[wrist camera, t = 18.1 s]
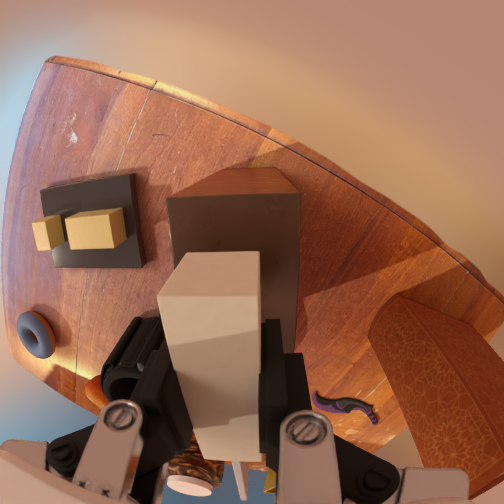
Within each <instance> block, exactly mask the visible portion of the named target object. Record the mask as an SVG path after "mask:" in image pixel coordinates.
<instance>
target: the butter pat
mask: <svg viewBox="0 0 504 504" xmlns="http://www.w3.org/2000/svg"><path fill="white" fill-rule="evenodd" d="M32 226H33V231H34V236H35V240H36V245H37V249H38V251H41V250H52V249H54V248H55V247H57V246H59V245H60V244H62V243H64V242H65V239H64V234H63V229H62V223H61V218H60V215H53V216H47V217H44V218H42V219H40V220H37V221H35V222H33V223H32Z"/></svg>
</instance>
